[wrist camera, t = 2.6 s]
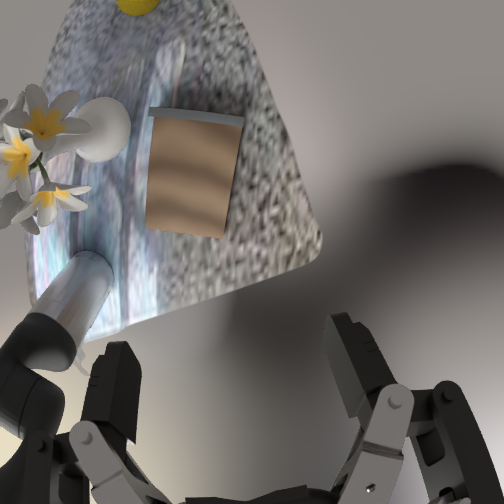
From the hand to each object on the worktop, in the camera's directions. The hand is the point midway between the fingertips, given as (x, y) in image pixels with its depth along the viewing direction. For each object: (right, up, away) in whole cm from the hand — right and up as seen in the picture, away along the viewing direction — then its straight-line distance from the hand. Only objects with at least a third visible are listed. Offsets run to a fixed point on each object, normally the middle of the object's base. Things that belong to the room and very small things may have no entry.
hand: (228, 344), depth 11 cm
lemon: (-14, +38, +16) cm, 44 cm away
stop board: (-8, +15, +29) cm, 33 cm away
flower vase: (-21, +22, +24) cm, 39 cm away
